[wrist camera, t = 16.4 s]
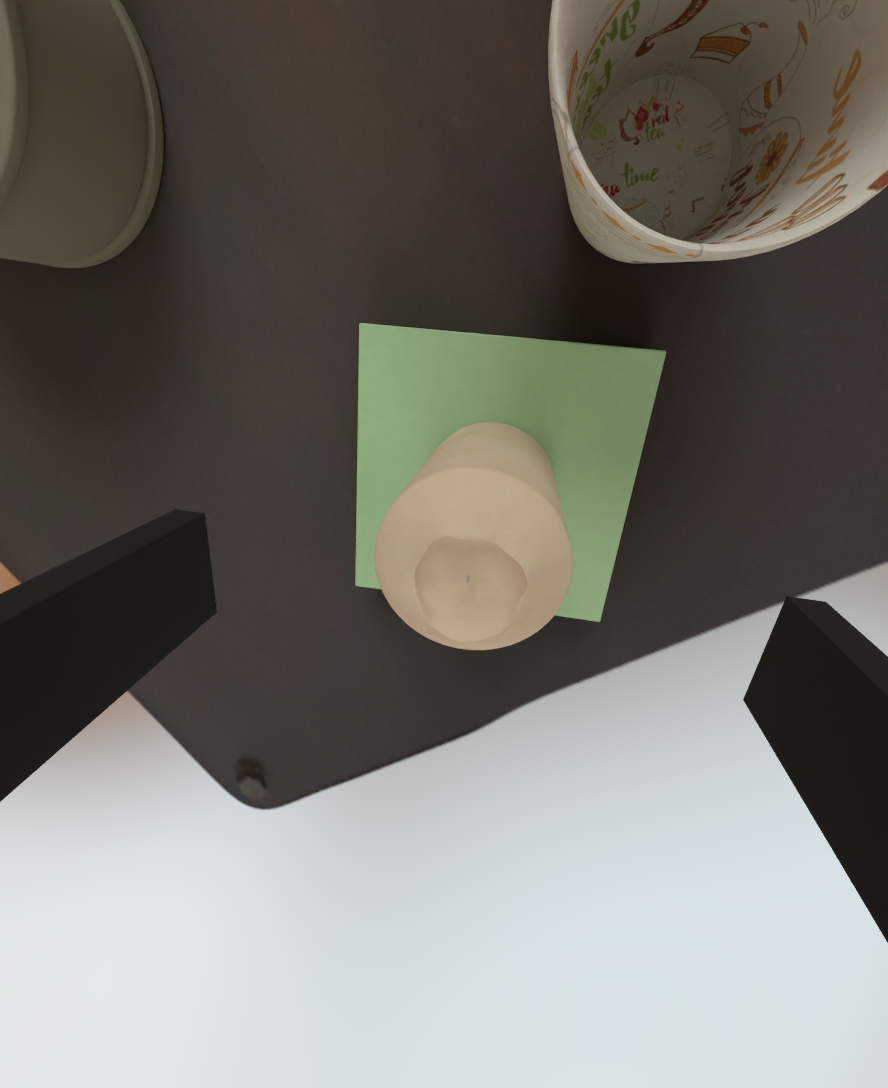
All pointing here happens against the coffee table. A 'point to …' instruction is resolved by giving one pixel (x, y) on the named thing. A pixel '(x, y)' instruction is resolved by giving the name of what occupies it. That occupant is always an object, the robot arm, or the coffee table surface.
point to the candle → (477, 541)
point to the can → (75, 132)
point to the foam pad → (515, 399)
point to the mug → (717, 121)
